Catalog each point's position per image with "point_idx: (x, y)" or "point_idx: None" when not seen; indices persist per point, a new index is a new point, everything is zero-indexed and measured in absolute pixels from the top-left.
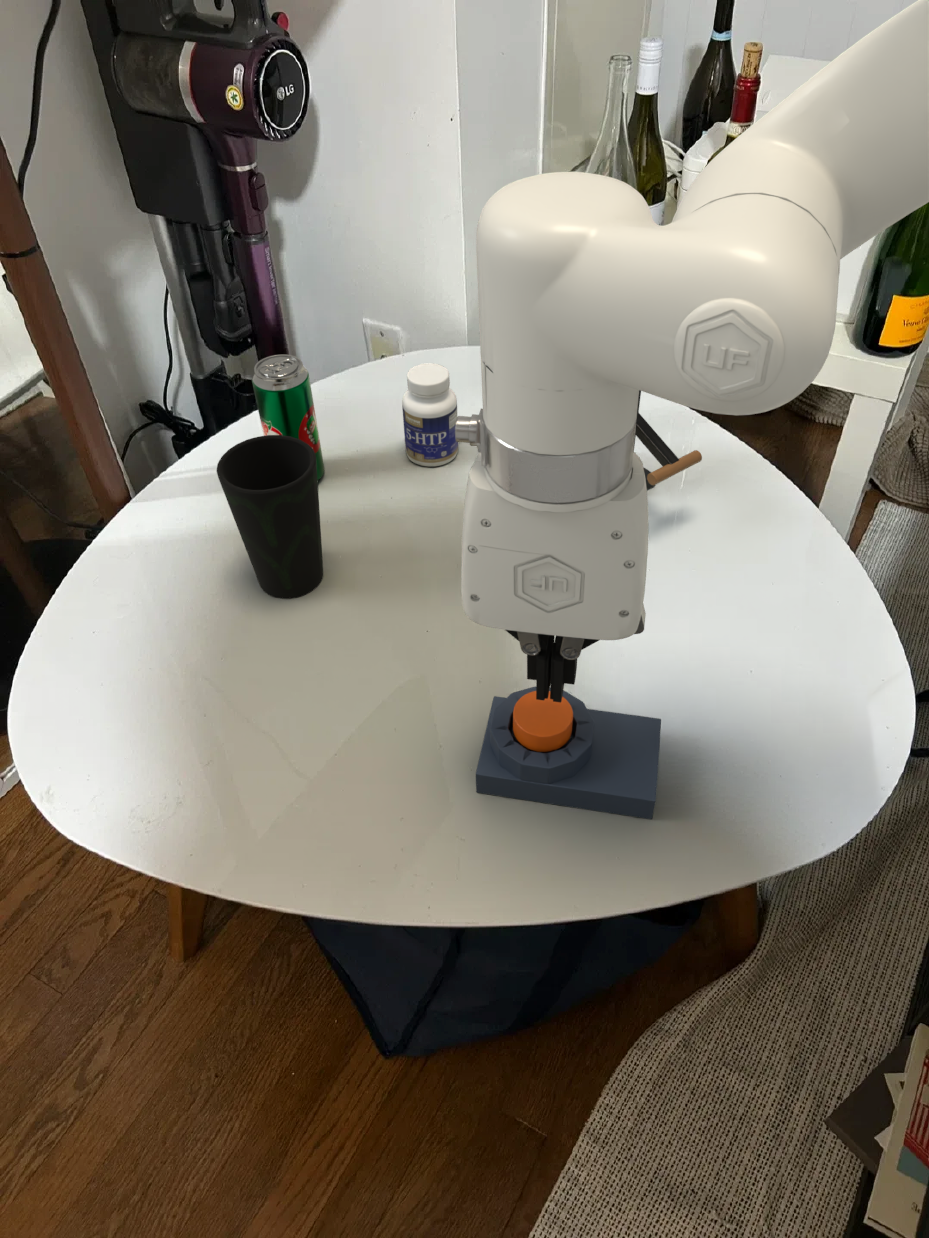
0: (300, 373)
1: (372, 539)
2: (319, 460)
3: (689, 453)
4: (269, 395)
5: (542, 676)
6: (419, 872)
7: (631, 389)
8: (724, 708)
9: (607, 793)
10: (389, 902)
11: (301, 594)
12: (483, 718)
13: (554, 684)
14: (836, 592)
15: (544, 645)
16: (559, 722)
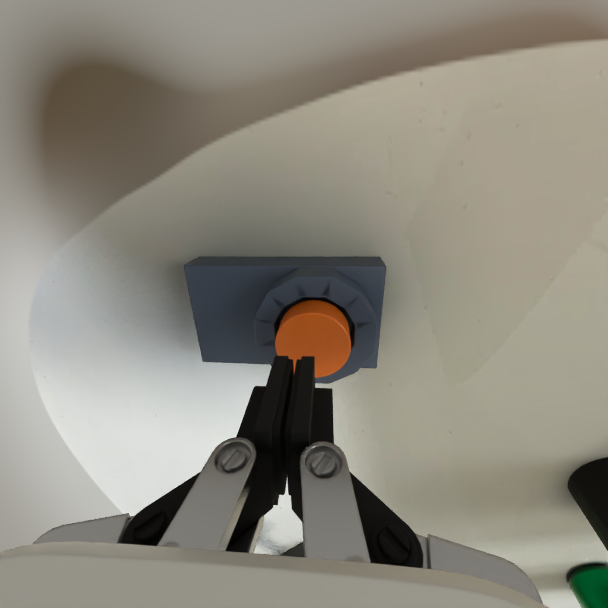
0: None
1: (513, 518)
2: (587, 603)
3: None
4: None
5: (299, 395)
6: (437, 134)
7: None
8: (167, 380)
9: (234, 266)
10: (474, 77)
11: (595, 463)
12: (382, 345)
13: (279, 382)
14: (115, 483)
15: (294, 468)
16: (289, 335)
